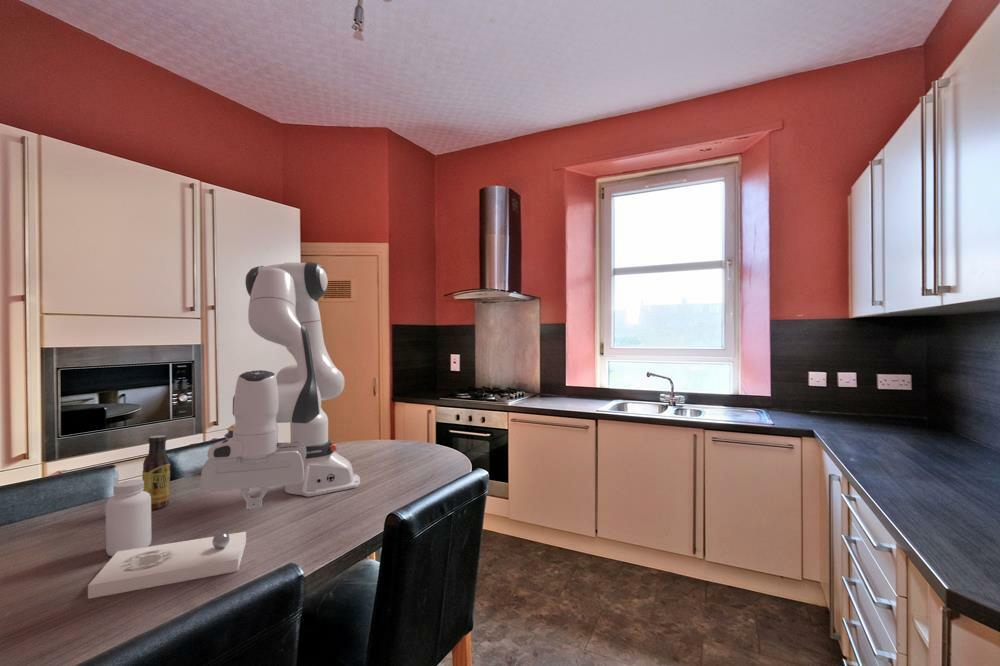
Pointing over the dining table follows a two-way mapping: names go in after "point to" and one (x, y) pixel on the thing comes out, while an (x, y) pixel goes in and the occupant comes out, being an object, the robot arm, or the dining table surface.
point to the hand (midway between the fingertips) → (254, 507)
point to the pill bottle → (128, 517)
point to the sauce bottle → (157, 472)
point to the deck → (167, 565)
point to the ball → (220, 540)
